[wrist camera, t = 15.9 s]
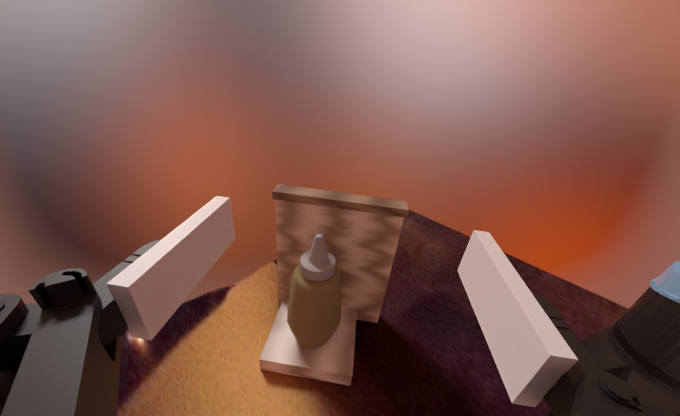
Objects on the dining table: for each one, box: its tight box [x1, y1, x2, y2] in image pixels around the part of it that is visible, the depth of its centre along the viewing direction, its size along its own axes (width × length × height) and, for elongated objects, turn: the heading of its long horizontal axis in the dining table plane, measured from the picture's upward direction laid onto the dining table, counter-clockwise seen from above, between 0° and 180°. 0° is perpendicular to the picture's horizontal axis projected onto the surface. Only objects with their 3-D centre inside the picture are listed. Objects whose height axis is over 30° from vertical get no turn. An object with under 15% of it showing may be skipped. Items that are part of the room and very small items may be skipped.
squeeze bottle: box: [287, 234, 341, 348], centre depth 36 cm, size 8×8×18 cm
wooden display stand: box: [259, 184, 409, 386], centre depth 37 cm, size 19×13×23 cm
